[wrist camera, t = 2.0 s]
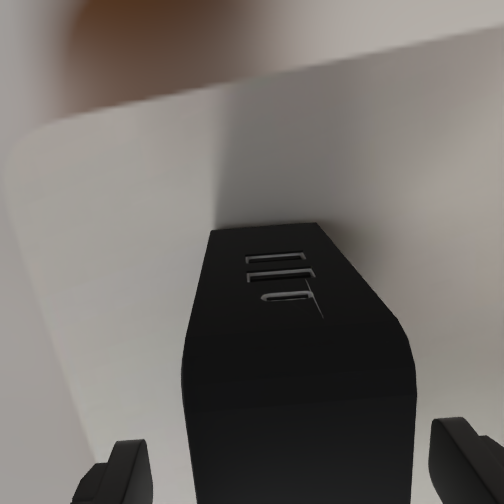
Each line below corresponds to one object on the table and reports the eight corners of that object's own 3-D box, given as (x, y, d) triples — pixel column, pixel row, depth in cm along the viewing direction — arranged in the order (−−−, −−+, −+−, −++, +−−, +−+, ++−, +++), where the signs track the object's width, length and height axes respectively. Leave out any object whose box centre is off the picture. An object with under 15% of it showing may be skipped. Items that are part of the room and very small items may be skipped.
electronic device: (314, 217, 16) (425, 345, 7) (319, 423, 19) (401, 716, 10) (209, 224, 16) (172, 366, 7) (230, 431, 19) (225, 733, 10)
